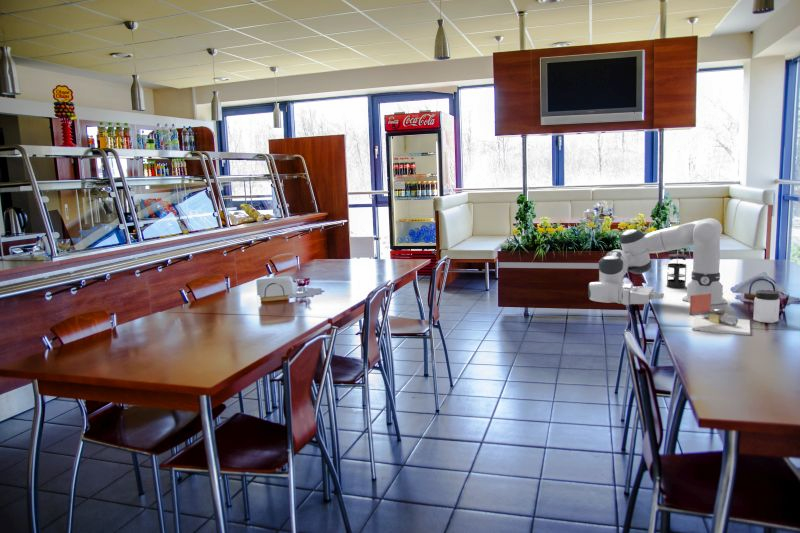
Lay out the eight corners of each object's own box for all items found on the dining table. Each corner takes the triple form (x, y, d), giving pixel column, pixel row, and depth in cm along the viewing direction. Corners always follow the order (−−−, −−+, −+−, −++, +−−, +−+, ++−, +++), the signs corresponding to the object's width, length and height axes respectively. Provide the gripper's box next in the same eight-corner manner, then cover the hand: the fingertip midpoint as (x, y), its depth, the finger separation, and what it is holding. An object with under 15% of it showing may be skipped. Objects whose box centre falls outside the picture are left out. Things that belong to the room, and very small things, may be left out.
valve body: (698, 318, 261) (699, 309, 260) (708, 316, 262) (709, 308, 262) (729, 326, 245) (729, 318, 245) (739, 325, 247) (740, 317, 246)
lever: (719, 311, 256) (720, 291, 254) (727, 313, 252) (728, 293, 251) (687, 314, 251) (687, 294, 250) (694, 316, 247) (695, 296, 246)
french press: (686, 289, 327) (688, 245, 323) (667, 288, 330) (669, 244, 327) (684, 285, 338) (686, 242, 334) (665, 284, 341) (667, 242, 337)
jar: (770, 324, 252) (772, 294, 251) (749, 320, 259) (751, 291, 257) (781, 320, 257) (783, 292, 255) (761, 317, 264) (763, 289, 262)
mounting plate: (695, 317, 265) (695, 315, 265) (749, 322, 256) (749, 319, 256) (691, 330, 246) (692, 327, 246) (750, 335, 237) (750, 332, 236)
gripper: (631, 296, 271) (665, 298, 264) (623, 305, 253) (660, 308, 246) (631, 282, 270) (666, 284, 263) (623, 290, 252) (661, 292, 245)
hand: (663, 295), depth 255 cm, fingers closed
